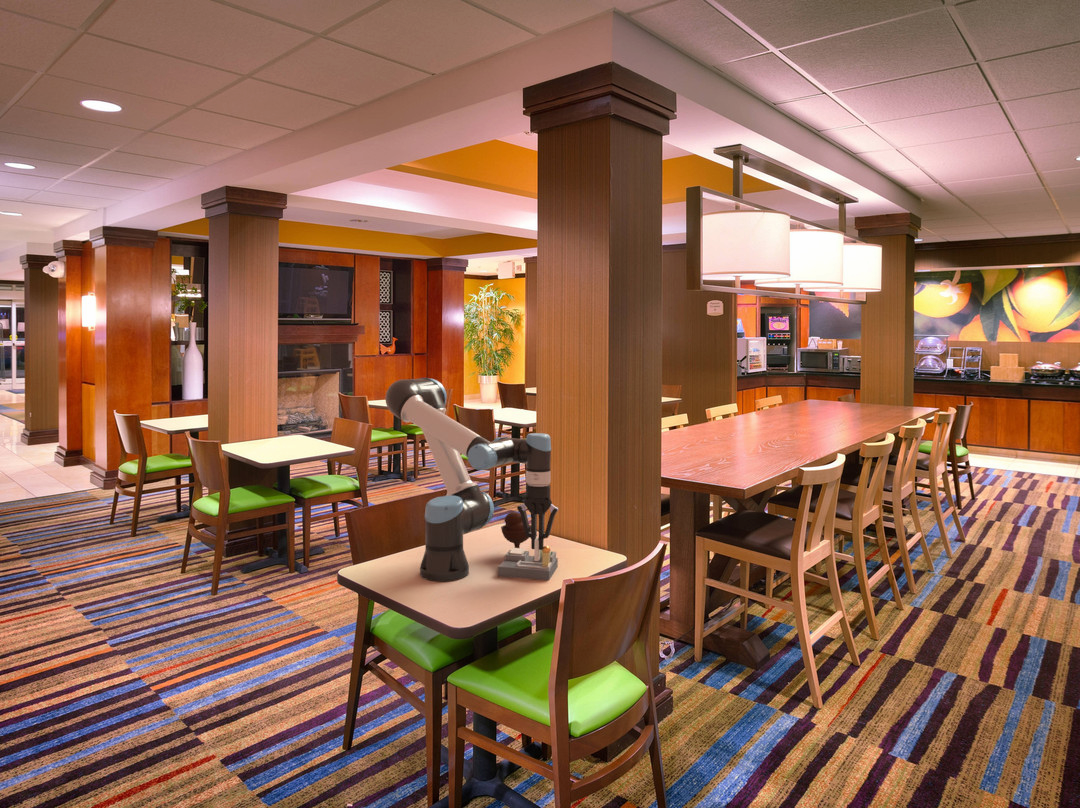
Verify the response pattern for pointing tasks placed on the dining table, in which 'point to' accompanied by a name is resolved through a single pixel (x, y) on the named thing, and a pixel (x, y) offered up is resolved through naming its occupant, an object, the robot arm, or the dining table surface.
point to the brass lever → (546, 556)
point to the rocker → (517, 551)
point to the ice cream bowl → (514, 529)
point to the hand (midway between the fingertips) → (537, 559)
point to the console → (527, 566)
